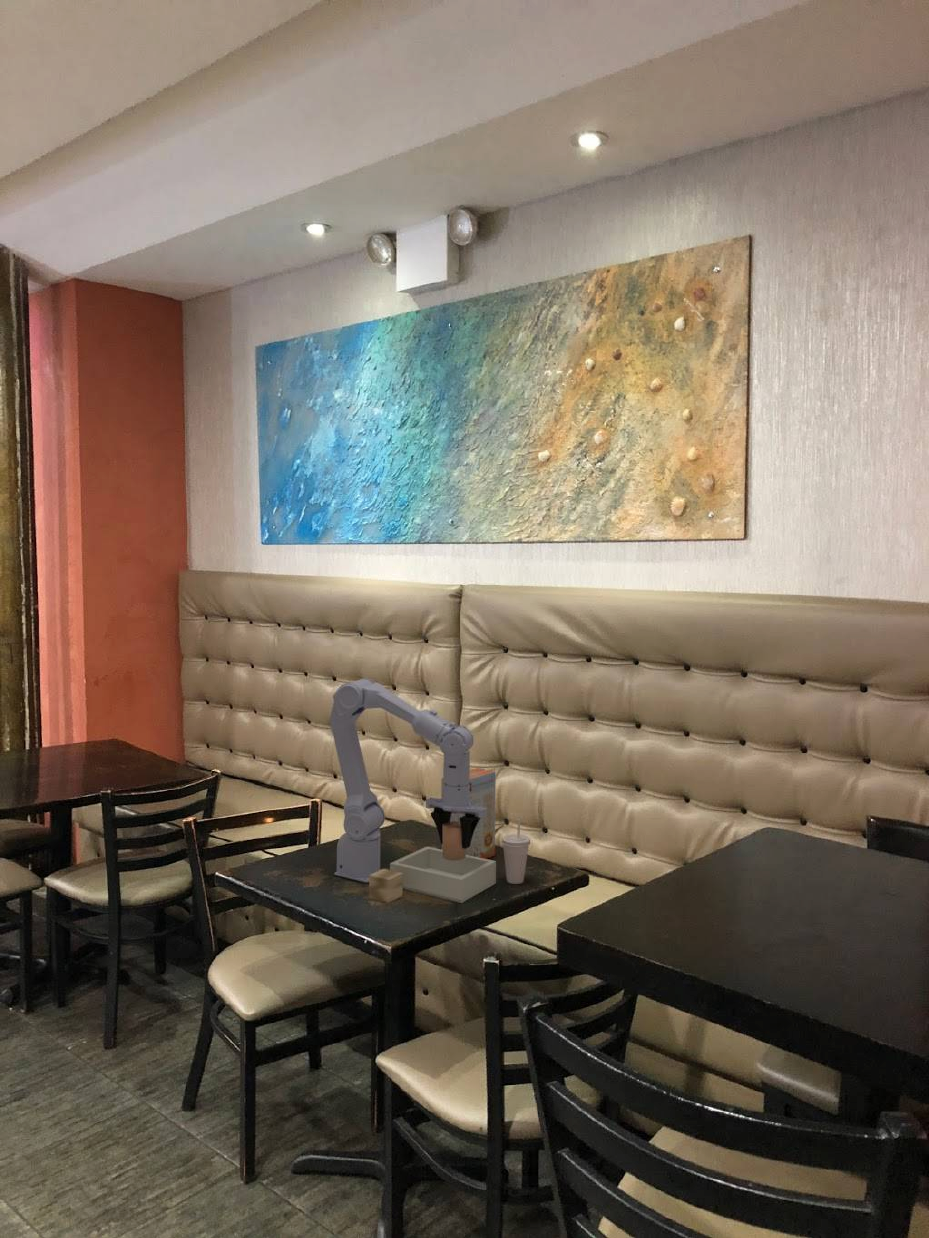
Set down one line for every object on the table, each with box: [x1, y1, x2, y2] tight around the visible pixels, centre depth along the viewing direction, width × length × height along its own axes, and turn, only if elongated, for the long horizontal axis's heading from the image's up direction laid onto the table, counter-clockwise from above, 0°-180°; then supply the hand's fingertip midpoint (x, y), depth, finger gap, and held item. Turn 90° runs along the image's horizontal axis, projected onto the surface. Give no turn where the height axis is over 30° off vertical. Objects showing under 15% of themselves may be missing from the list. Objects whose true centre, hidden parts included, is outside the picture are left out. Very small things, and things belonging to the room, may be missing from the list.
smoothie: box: [501, 818, 531, 885], centre depth 212 cm, size 6×6×14 cm
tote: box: [389, 846, 497, 904], centre depth 209 cm, size 18×14×5 cm
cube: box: [368, 868, 403, 904], centre depth 201 cm, size 5×5×5 cm
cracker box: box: [441, 767, 496, 859], centre depth 225 cm, size 14×6×21 cm, turn 141°
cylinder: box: [442, 821, 466, 861], centre depth 207 cm, size 5×5×7 cm
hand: (455, 845), depth 207 cm, fingers closed on cylinder, 5 cm apart
